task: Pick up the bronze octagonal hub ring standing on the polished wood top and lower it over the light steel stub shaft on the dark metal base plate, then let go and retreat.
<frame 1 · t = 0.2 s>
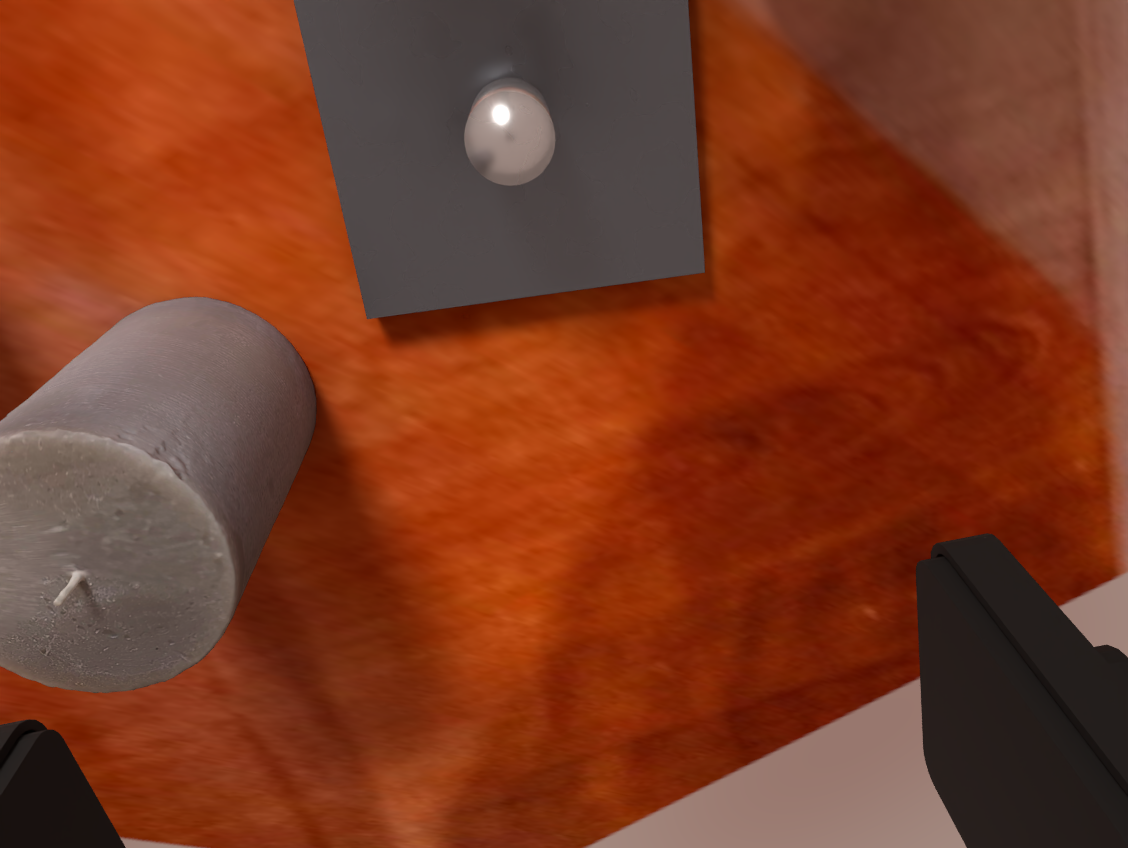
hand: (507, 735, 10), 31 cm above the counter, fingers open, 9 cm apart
shaft block: (510, 114, 36), on the counter
pillar candle: (208, 394, 41), on the counter
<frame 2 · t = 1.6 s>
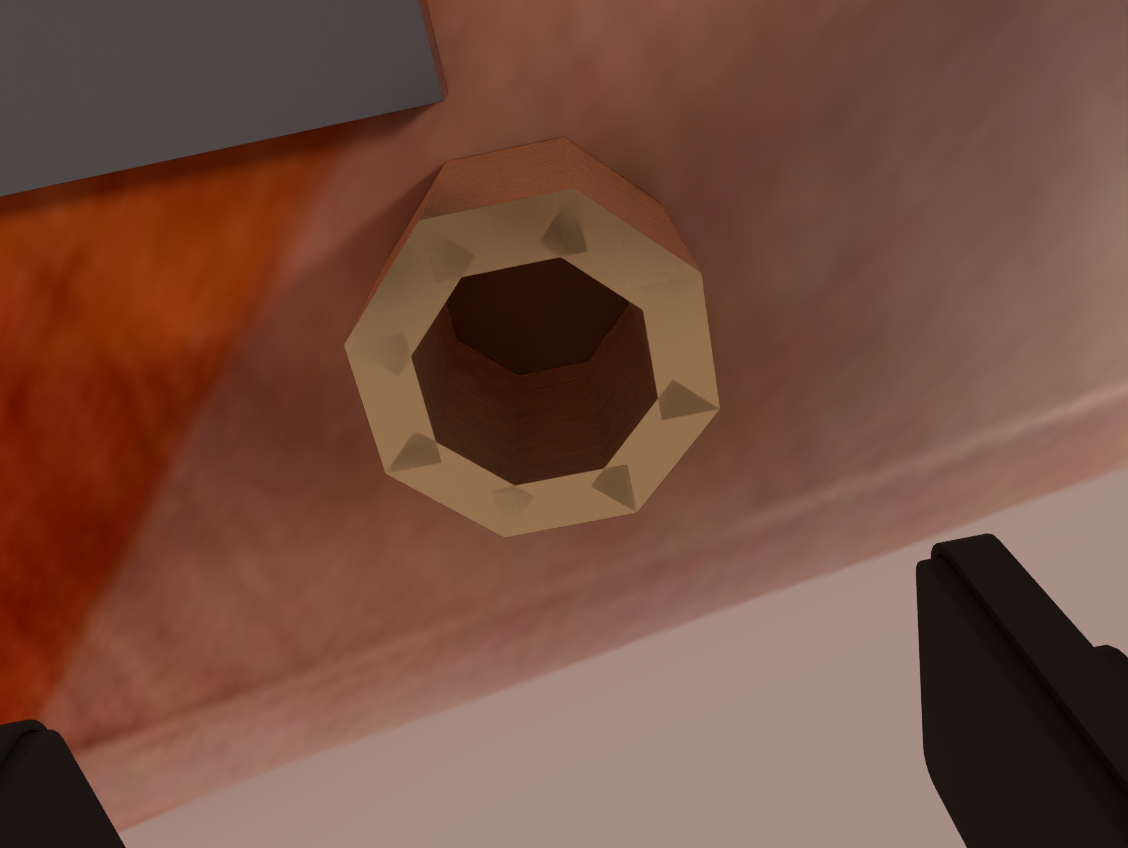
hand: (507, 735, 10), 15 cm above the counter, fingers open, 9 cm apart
hub ring: (534, 287, 24), on the counter
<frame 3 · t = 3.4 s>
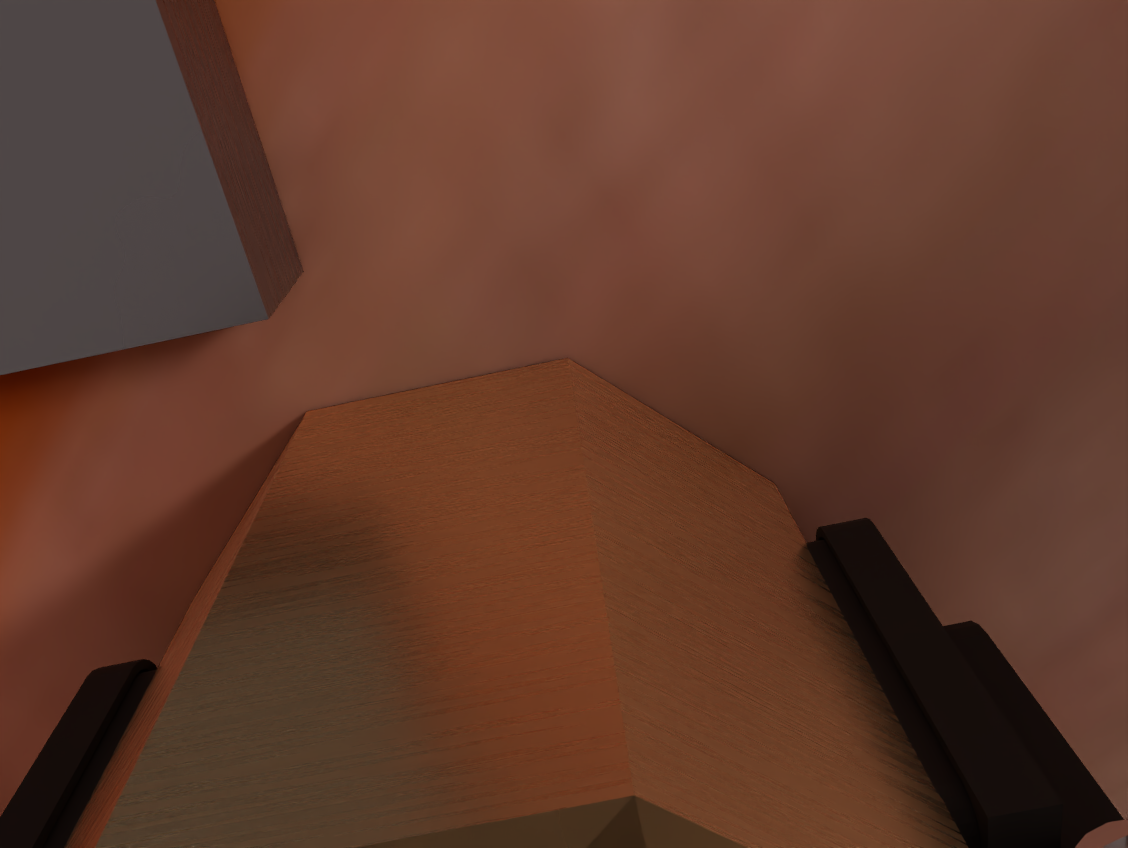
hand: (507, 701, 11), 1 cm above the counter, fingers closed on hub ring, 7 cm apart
hub ring: (507, 638, 12), on the counter, touching gripper
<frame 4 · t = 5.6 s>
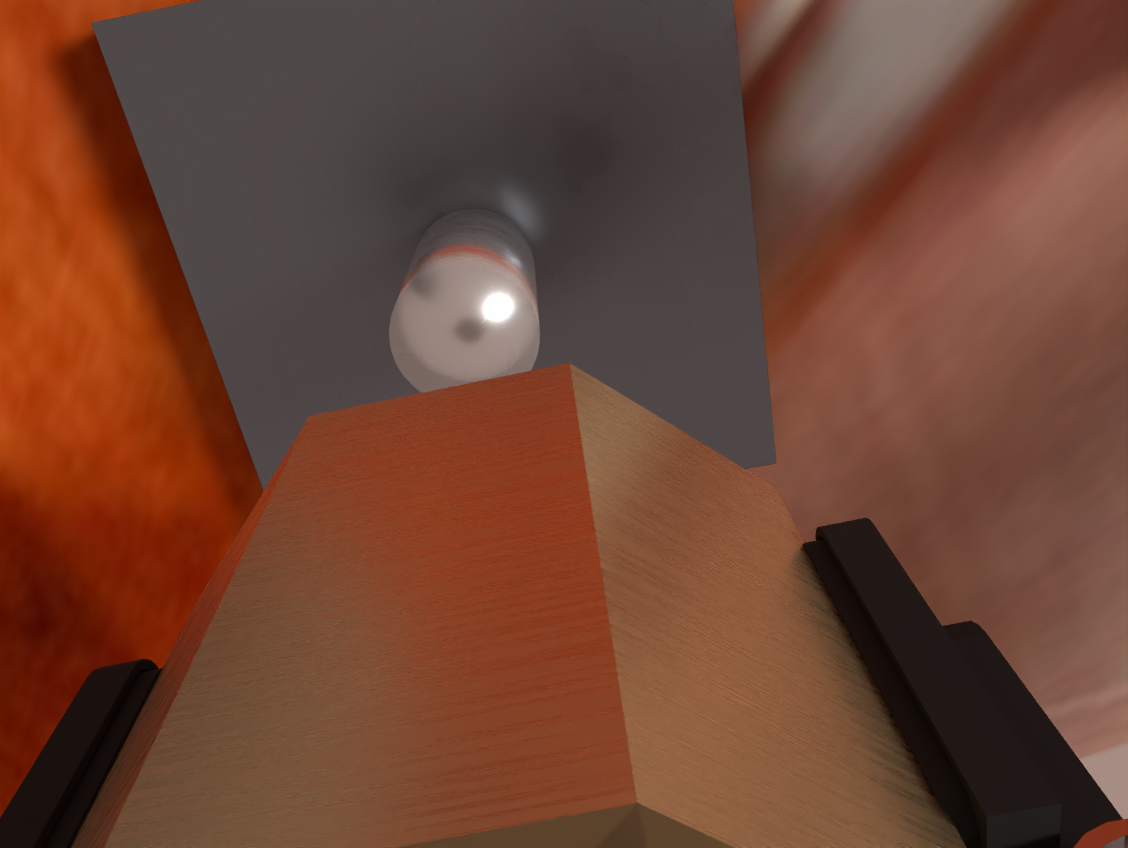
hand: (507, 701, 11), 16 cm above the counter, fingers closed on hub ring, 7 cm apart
shaft block: (476, 253, 24), on the counter
hub ring: (509, 642, 12), point 15 cm above the counter, touching gripper
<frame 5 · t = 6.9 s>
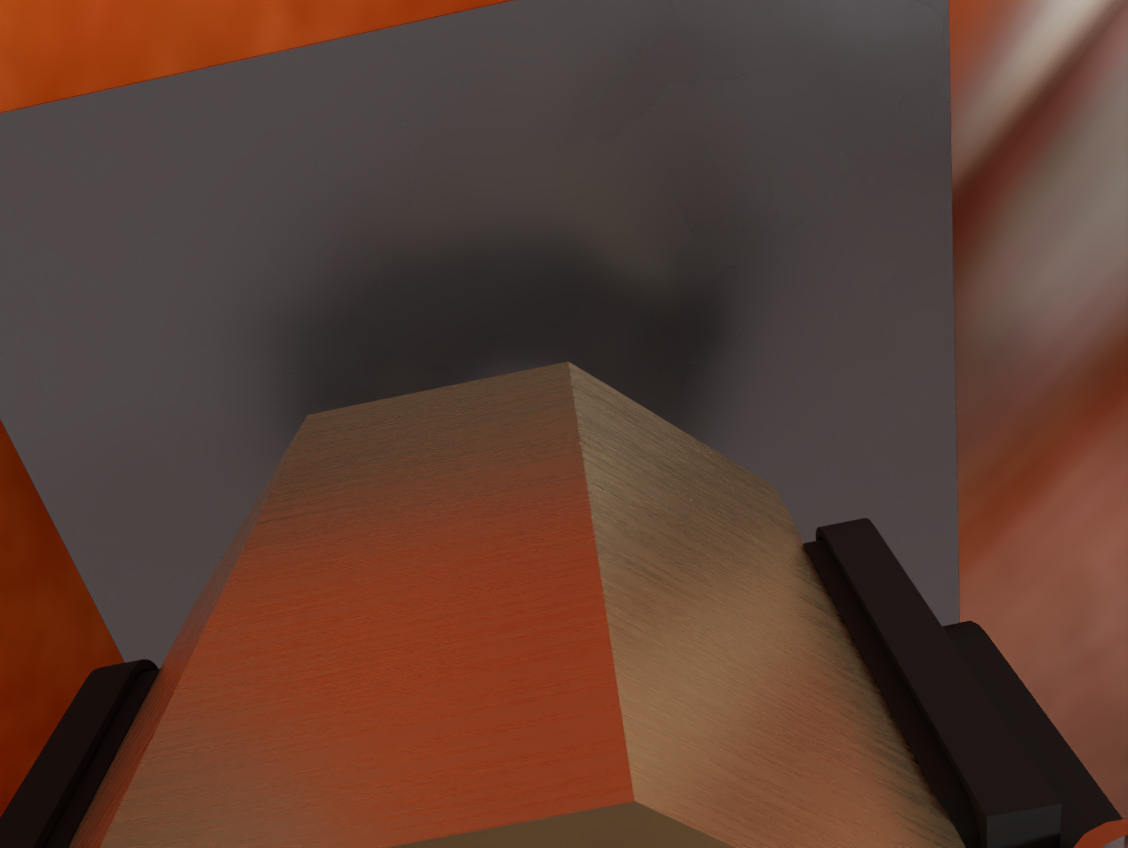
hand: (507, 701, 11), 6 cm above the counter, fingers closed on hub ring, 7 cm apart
shaft block: (512, 458, 16), on the counter
hub ring: (508, 641, 12), point 5 cm above the counter, touching gripper
when the fingers open (3 cm above the counter, at t = 7.9 s): hub ring stays where it is, resting on shaft block.
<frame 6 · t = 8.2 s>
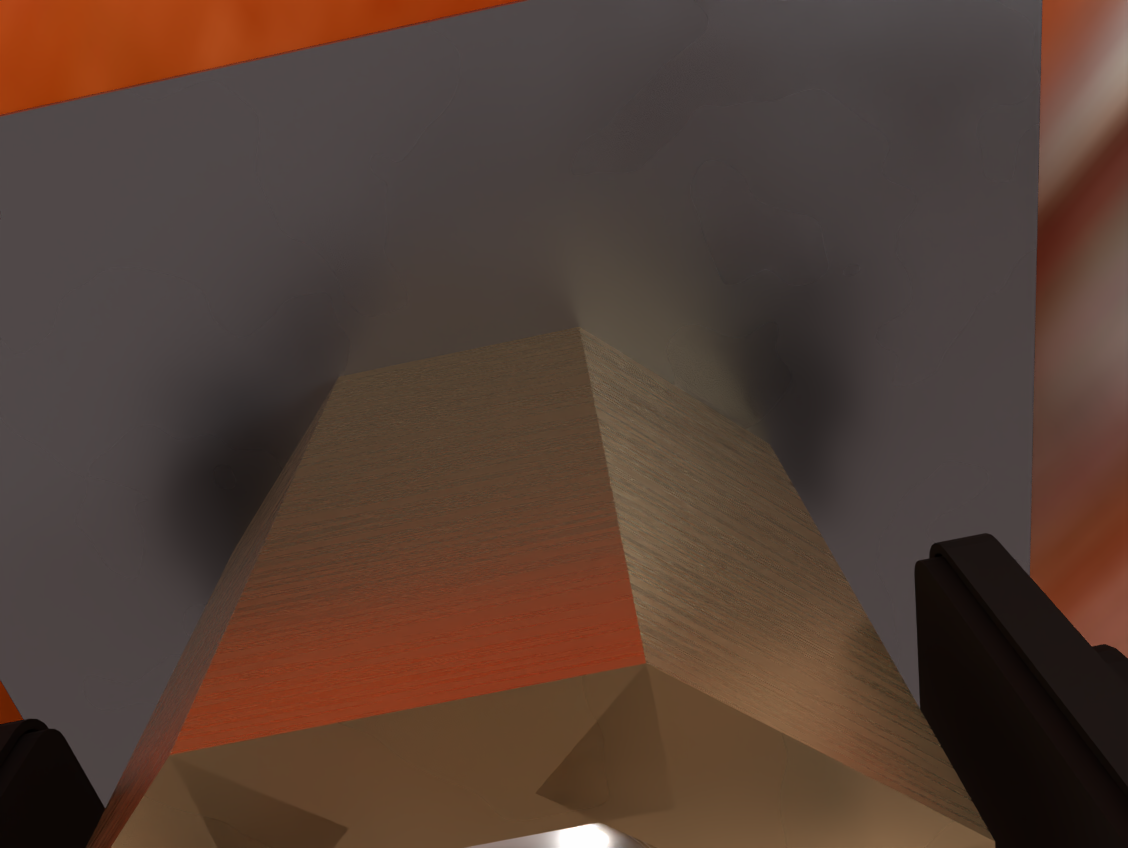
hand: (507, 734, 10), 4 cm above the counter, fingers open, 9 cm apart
shaft block: (508, 534, 14), on the counter
hub ring: (522, 591, 12), point 1 cm above the counter, touching shaft block
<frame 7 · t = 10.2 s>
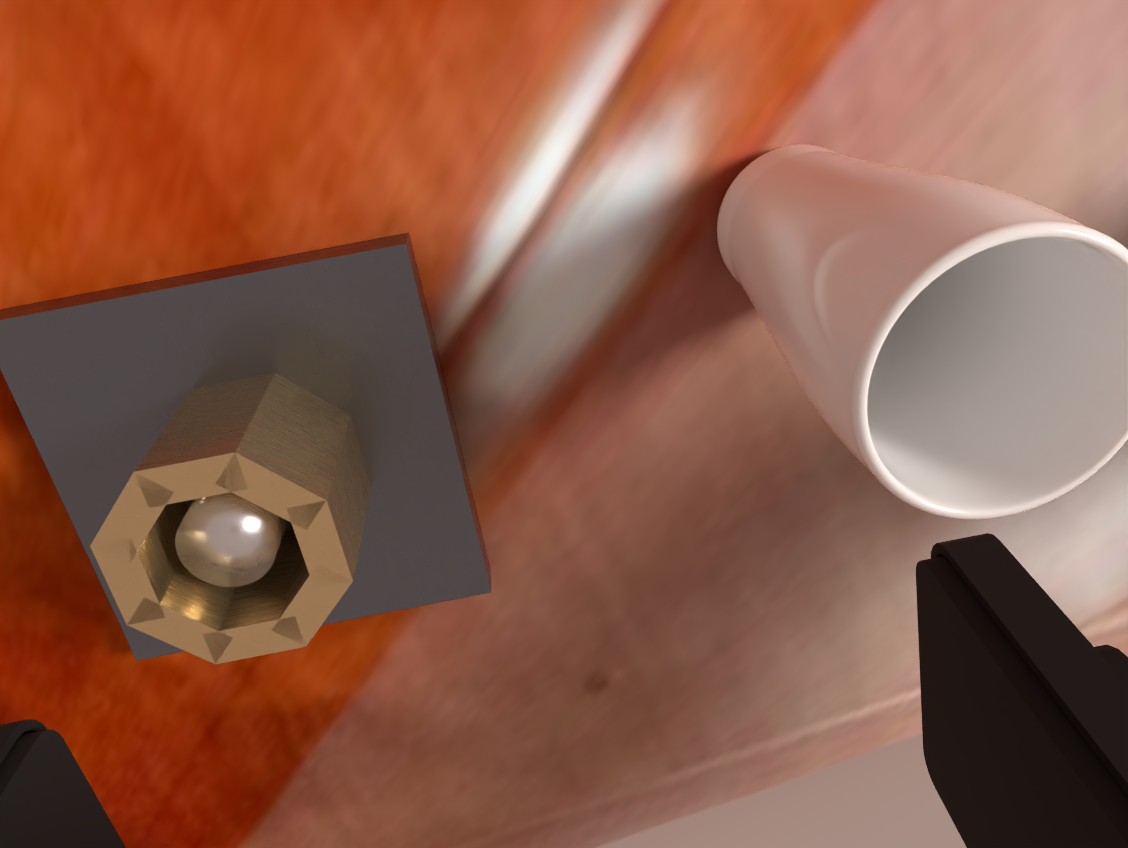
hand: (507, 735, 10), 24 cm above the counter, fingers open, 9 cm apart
shaft block: (267, 451, 34), on the counter
hub ring: (264, 470, 33), point 1 cm above the counter, touching shaft block
drinking glass: (785, 218, 33), on the counter
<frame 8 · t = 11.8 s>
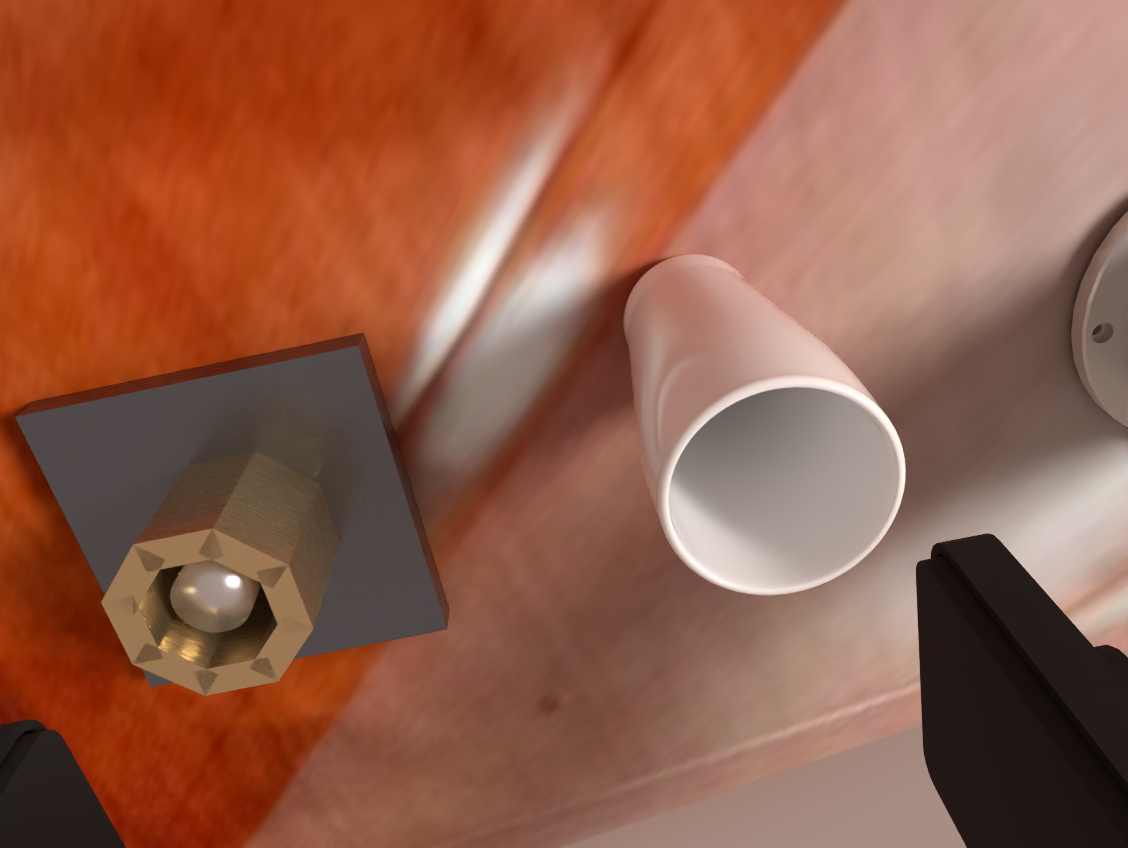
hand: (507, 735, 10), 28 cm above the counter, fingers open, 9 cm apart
shaft block: (254, 512, 41), on the counter
hub ring: (250, 529, 40), point 1 cm above the counter, touching shaft block
drinking glass: (685, 312, 38), on the counter
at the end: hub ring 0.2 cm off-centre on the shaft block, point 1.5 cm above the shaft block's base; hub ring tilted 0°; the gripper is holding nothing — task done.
